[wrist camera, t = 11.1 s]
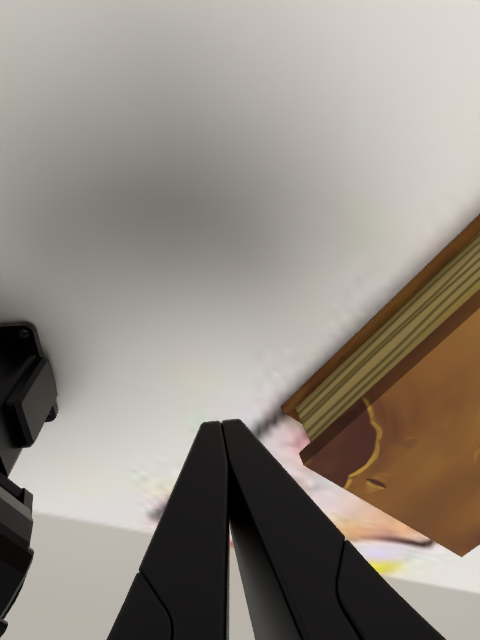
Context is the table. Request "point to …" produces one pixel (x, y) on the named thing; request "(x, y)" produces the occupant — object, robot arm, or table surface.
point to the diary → (408, 403)
